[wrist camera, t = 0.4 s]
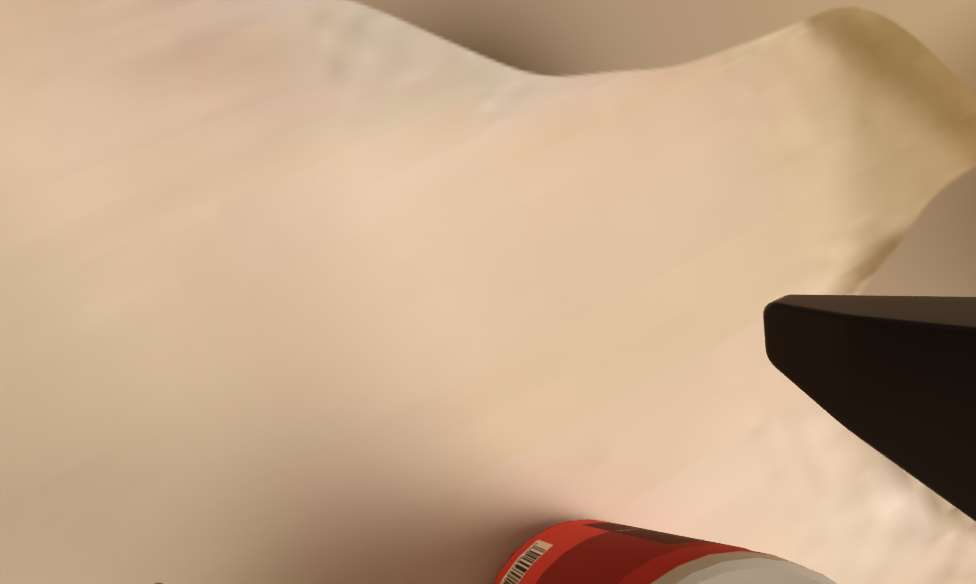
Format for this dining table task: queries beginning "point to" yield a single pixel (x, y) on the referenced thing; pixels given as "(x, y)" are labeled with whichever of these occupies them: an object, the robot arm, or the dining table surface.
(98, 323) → the dining table surface
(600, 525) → the canned food
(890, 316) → the robot arm
